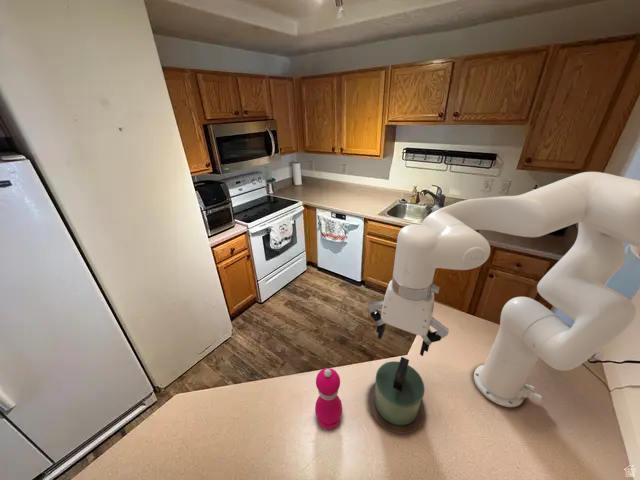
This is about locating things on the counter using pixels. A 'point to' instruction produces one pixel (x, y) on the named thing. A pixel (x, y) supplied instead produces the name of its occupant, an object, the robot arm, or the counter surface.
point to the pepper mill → (328, 398)
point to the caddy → (398, 392)
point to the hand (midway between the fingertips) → (401, 342)
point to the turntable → (390, 426)
